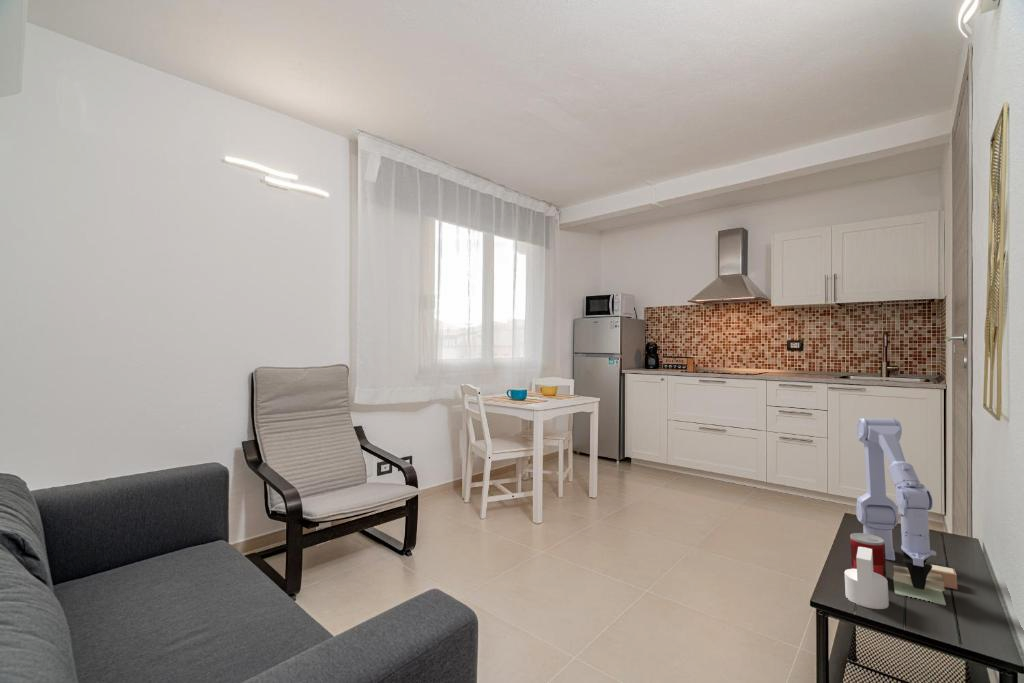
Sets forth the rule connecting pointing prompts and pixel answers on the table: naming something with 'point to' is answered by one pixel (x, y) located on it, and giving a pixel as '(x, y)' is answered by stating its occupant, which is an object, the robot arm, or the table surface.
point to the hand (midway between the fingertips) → (917, 583)
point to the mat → (919, 592)
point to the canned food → (872, 543)
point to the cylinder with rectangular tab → (866, 582)
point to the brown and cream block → (946, 575)
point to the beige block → (931, 582)
